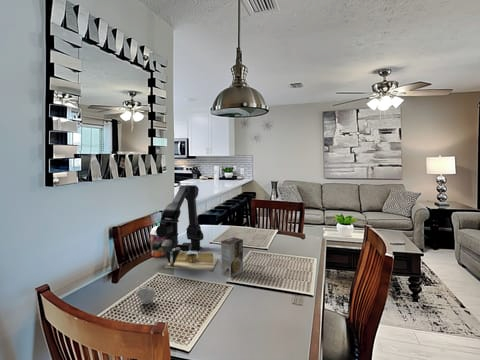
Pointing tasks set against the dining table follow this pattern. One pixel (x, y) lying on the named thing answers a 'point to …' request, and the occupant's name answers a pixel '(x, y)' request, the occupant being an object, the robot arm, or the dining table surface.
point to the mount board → (194, 265)
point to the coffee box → (231, 257)
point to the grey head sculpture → (145, 294)
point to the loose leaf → (205, 256)
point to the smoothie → (156, 238)
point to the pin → (171, 258)
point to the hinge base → (186, 257)
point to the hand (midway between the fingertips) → (172, 263)
